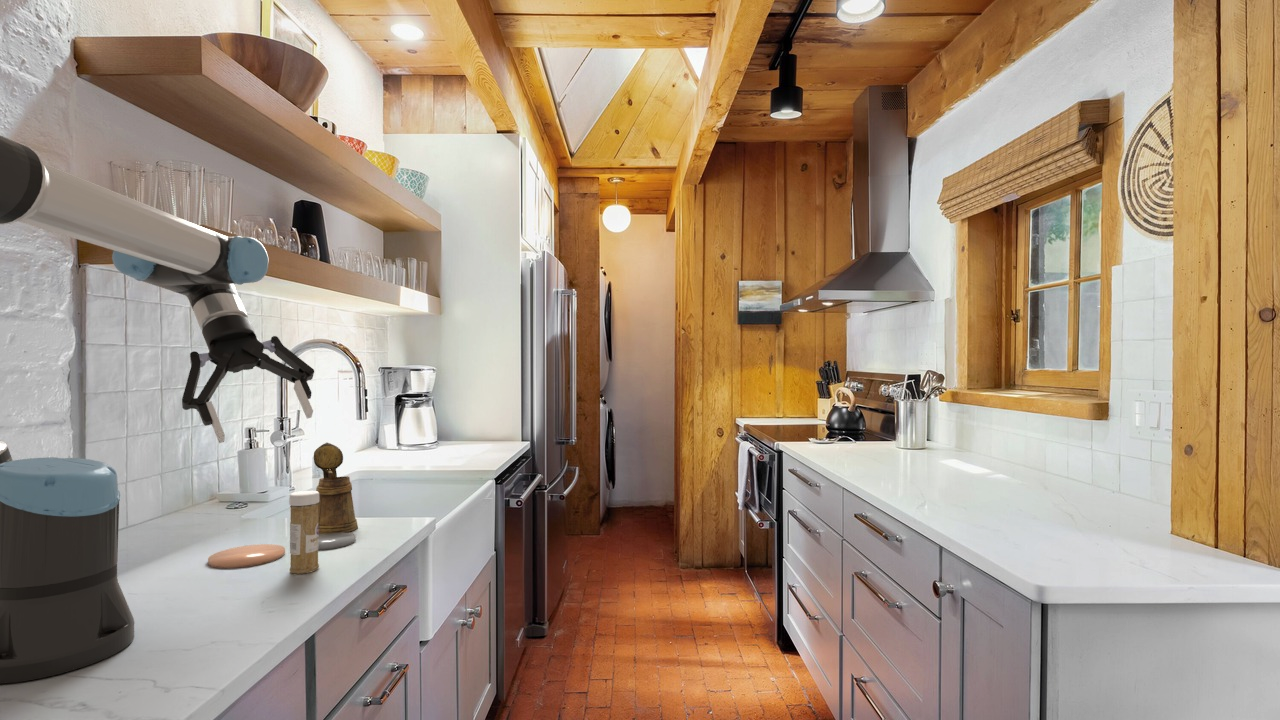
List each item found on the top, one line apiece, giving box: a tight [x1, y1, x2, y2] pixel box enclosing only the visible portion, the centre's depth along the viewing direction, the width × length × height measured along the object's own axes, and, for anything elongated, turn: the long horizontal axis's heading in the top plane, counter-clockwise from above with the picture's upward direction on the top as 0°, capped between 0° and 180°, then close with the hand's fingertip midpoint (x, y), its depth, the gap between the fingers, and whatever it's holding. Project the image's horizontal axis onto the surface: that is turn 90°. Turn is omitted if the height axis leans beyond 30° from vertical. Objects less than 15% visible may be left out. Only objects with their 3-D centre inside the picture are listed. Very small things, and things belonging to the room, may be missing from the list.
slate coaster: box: [318, 532, 357, 551], centre depth 126 cm, size 10×10×1 cm
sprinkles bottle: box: [288, 490, 320, 575], centre depth 109 cm, size 5×5×14 cm
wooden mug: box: [313, 442, 359, 534], centre depth 138 cm, size 9×14×18 cm, turn 37°
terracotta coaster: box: [207, 543, 286, 569], centre depth 116 cm, size 12×12×1 cm
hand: (268, 426), depth 107 cm, fingers open, 13 cm apart
